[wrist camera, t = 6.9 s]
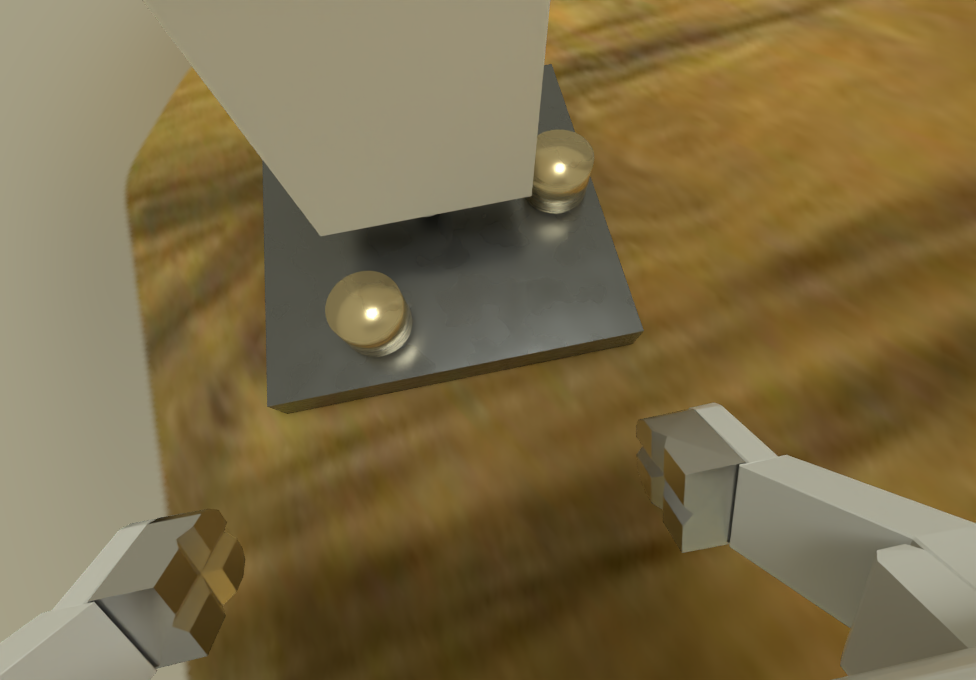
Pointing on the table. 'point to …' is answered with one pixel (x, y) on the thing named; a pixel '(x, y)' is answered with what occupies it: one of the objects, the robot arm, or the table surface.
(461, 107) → the instrument head
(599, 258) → the base
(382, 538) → the table surface
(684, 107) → the table surface
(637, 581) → the table surface
